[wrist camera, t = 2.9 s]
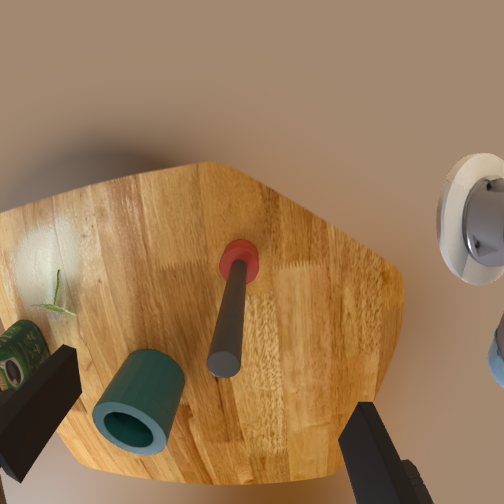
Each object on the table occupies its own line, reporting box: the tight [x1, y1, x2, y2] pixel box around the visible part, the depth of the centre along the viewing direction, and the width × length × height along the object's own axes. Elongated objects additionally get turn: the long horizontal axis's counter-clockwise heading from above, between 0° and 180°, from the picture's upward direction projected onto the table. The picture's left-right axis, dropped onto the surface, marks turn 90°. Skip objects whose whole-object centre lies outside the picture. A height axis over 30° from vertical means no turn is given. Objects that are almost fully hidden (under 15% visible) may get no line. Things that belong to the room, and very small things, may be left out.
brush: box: [207, 239, 259, 378], centre depth 26 cm, size 4×4×24 cm
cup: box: [92, 349, 185, 455], centre depth 36 cm, size 10×10×13 cm
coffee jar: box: [0, 320, 50, 392], centre depth 33 cm, size 10×8×19 cm
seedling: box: [31, 270, 77, 316], centre depth 38 cm, size 7×8×7 cm
